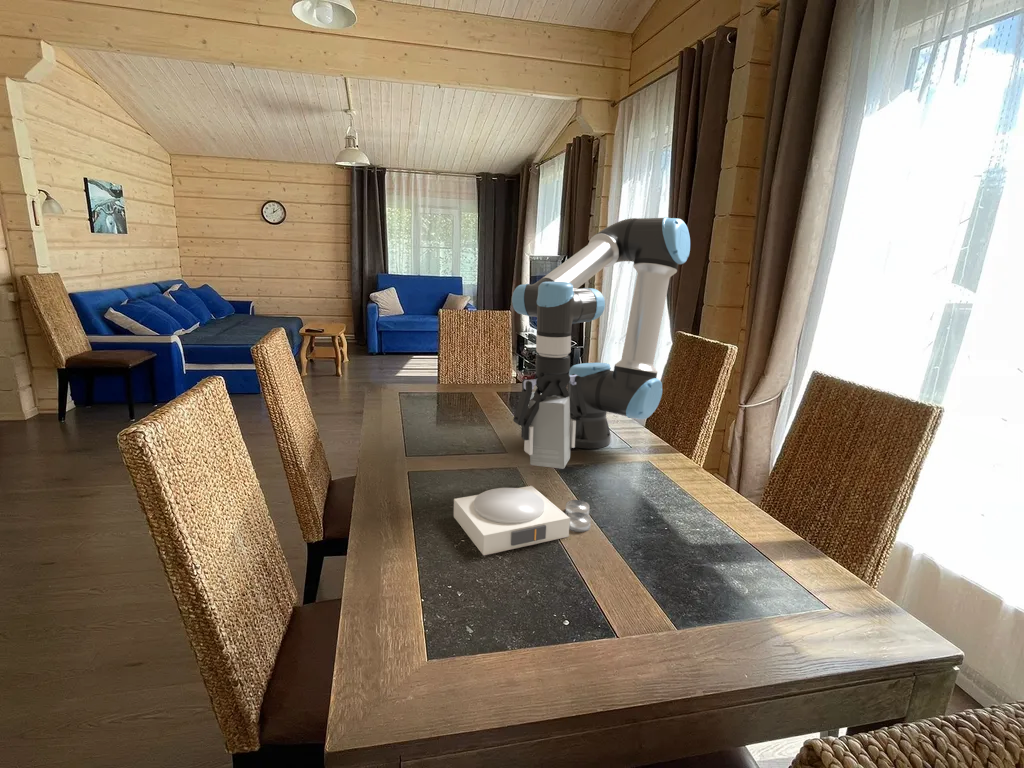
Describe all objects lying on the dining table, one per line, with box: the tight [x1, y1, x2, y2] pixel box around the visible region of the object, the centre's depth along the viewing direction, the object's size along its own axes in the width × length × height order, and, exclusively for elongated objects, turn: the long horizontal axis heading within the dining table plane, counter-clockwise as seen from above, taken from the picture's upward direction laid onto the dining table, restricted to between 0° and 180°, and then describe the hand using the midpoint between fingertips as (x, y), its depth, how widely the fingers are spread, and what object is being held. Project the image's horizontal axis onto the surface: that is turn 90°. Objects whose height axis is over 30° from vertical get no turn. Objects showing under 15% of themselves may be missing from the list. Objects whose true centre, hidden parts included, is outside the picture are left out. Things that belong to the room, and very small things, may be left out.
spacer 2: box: [566, 512, 592, 533], centre depth 110 cm, size 5×5×2 cm
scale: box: [453, 485, 570, 556], centre depth 109 cm, size 18×17×5 cm
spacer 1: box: [565, 499, 591, 516], centre depth 116 cm, size 5×5×2 cm
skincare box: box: [528, 393, 571, 470], centre depth 123 cm, size 8×7×16 cm
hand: (549, 449), depth 124 cm, fingers closed on skincare box, 10 cm apart
